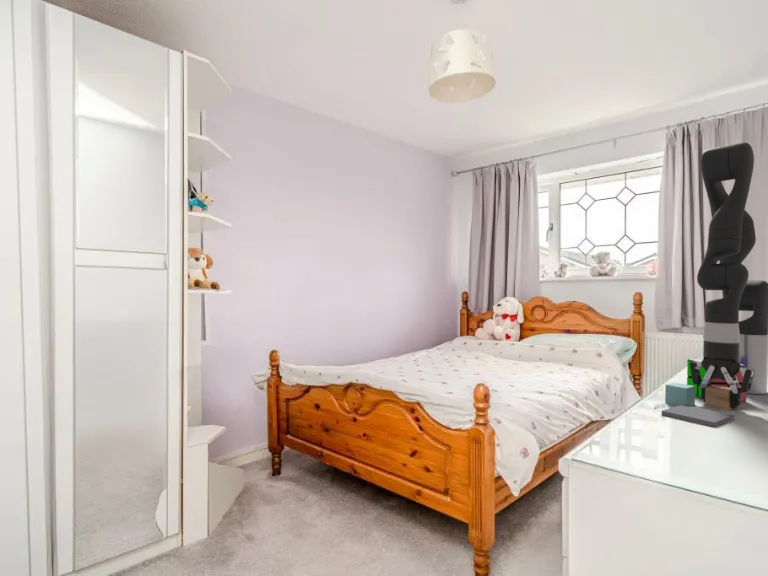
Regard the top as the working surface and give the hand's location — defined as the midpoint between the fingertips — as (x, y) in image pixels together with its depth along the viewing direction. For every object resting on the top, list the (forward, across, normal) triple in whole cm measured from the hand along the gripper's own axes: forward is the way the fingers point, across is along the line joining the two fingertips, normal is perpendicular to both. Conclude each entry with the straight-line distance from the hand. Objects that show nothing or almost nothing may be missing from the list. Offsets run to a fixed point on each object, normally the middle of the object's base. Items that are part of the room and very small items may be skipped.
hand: (720, 404), depth 118 cm
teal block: (+1, +7, +6) cm, 9 cm away
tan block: (+1, 0, 0) cm, 1 cm away
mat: (0, -1, +16) cm, 16 cm away
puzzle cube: (+1, +5, -11) cm, 12 cm away
